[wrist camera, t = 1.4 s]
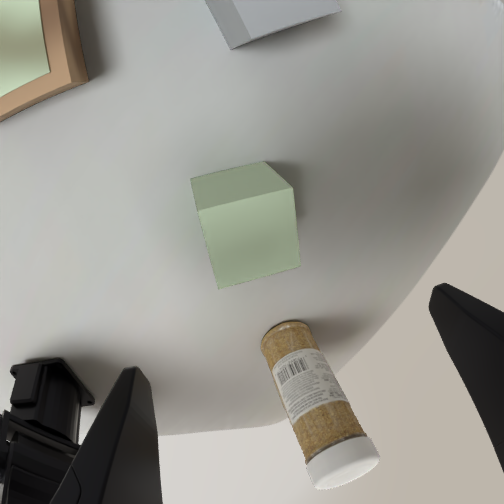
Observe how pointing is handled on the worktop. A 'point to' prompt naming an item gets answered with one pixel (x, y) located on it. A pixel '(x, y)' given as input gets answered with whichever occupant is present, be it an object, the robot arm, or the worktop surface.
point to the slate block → (265, 16)
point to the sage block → (247, 223)
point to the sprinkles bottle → (317, 408)
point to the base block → (38, 52)
